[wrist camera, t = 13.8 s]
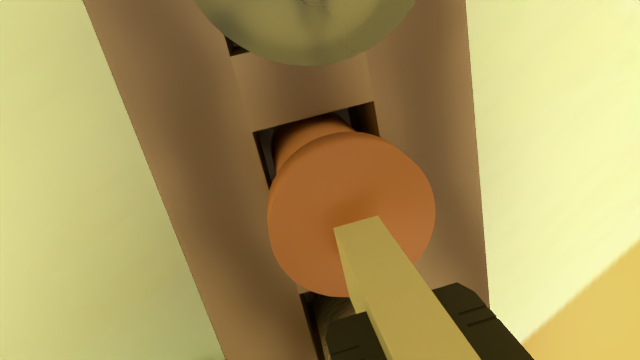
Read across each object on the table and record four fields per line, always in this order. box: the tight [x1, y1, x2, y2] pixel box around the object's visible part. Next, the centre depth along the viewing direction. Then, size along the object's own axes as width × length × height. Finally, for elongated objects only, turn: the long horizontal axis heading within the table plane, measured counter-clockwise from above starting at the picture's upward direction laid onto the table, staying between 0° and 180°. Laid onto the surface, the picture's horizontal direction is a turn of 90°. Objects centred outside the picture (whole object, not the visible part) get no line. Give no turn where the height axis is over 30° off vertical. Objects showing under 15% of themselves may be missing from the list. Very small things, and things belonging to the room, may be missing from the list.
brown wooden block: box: [83, 0, 490, 360], centre depth 25 cm, size 16×30×8 cm, turn 13°
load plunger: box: [267, 111, 436, 297], centre depth 21 cm, size 6×6×11 cm
